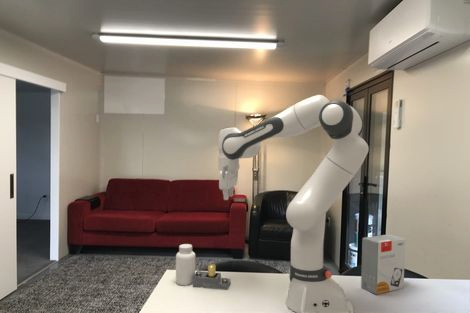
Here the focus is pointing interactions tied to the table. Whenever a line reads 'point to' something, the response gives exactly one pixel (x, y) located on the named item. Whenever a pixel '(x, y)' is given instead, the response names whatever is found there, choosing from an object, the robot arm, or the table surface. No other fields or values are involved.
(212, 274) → the pin
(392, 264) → the hard drive box
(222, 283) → the chain end
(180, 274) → the pill bottle
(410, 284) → the table surface
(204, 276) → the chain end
